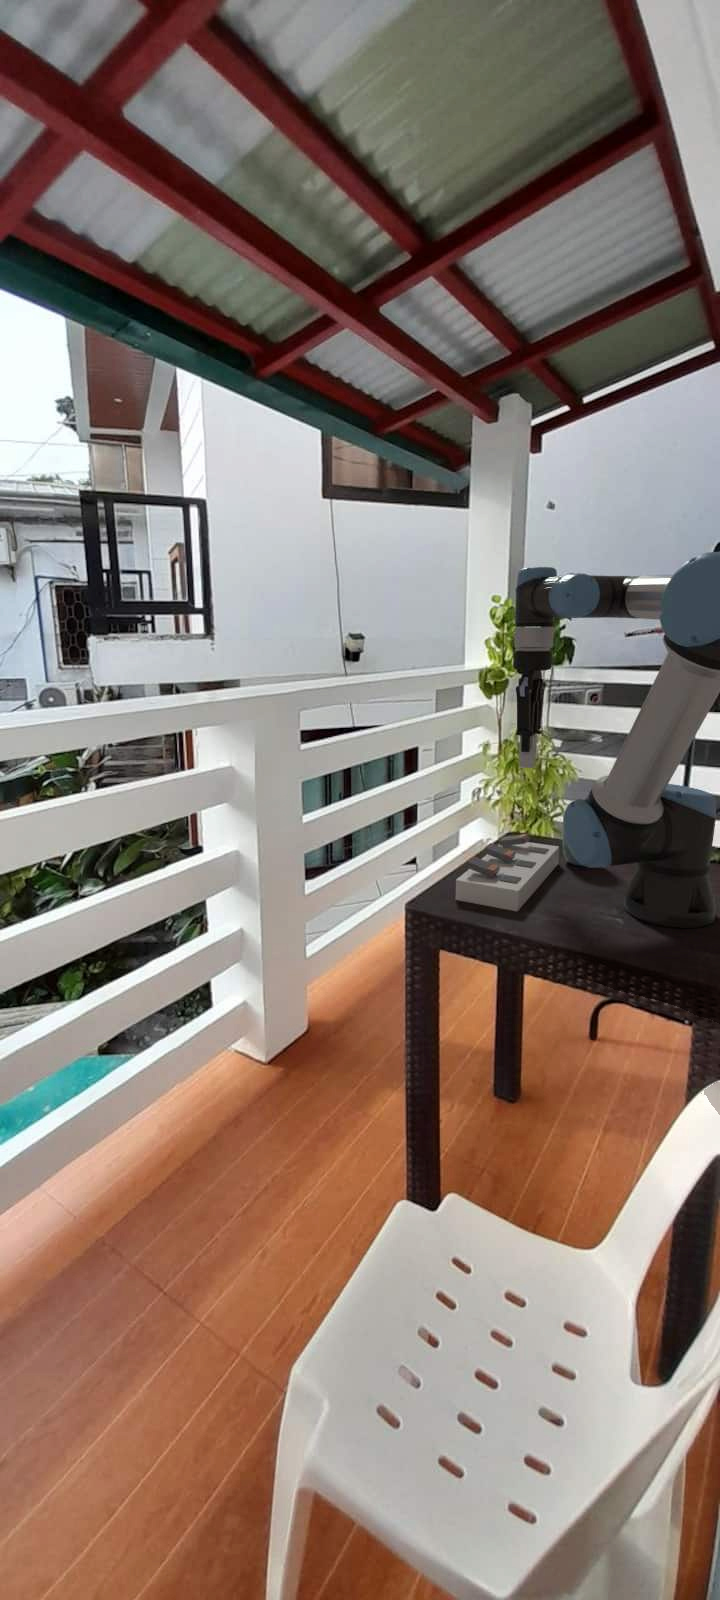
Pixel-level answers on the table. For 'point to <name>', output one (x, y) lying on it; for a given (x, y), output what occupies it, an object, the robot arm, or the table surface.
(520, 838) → the rocker
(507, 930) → the table surface
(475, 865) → the rocker
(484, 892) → the power strip
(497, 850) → the rocker
